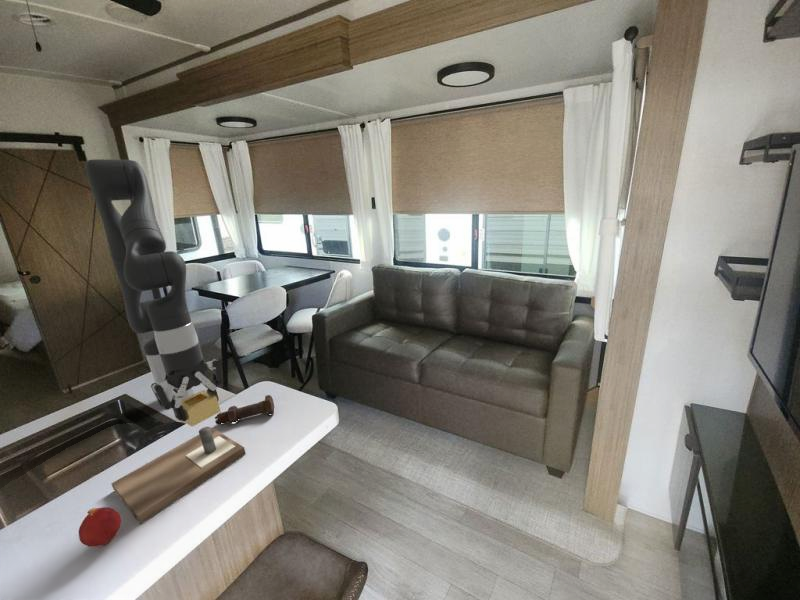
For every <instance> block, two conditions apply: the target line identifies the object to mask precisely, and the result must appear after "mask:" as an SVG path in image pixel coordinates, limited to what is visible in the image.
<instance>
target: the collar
mask: <svg viewBox="0 0 800 600" xmlns="http://www.w3.org/2000/svg"><path fill="white" fill-rule="evenodd" d="M181 406H183V411H184V414H185V417H186V421H184V422H183V423H186V424H187V425H189V427H195V426H196V425H199V424H200V423H202V422H204V421H206V420H208V419H209V418H211V417H213V416H215V415H218V414H219V413H221V412H222V411H221V408H220V404H219V400H217V397H216V396H215V395H213V394H210V393H208V392H207V390H205V389H203V390H200V391H198V392H196V393H193V395H191V396H189V397H187V398H185V399H183V400H182V402H181Z"/></svg>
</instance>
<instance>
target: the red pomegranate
mask: <svg viewBox="0 0 800 600" xmlns="http://www.w3.org/2000/svg"><path fill="white" fill-rule="evenodd" d="M121 527H122V516H121V514H120V512H119V511H118V510H117V509H114V508H112V507H108V506H103V507H97V508H95V507H93V508H90V509H89V510H88V511H87V515H86V516H85V517H84V518H83V520H82V522H81V523H80V526H79V528H78V539H79V542H81V544H82V545H84V546H86V547H100V546H105V545H106V546H107V545H108V544H109V543H110V542H112V541H113V539H114V538H115V537H116V536H117V534H118V533H119V531H120V529H121Z"/></svg>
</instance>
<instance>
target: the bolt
mask: <svg viewBox="0 0 800 600" xmlns="http://www.w3.org/2000/svg"><path fill="white" fill-rule="evenodd" d="M274 408H275V402H274V398H273V397H272V395H271V394H268V395H265V397H264V400H262V401H259V402H255V403H252V404H248V405H245V406H242V407H237V405H232V406H229V407H228V409H227V410H226V411H221V412H219V413H217V414H216V416H215V417H214V419H215V424H216V425H218V424H221V423H225V424H227V423H226V422H228V423H229V424H231V423H232V422H236V421H238V419H240V420H242V418H243V419H246V418H250V417H253V416H257V415H261V414H266V413H267V415H268V416H269V414H273V413H274ZM274 414H275V413H274ZM274 414H273V415H274Z"/></svg>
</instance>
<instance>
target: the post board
mask: <svg viewBox="0 0 800 600" xmlns="http://www.w3.org/2000/svg"><path fill="white" fill-rule="evenodd" d="M246 455H247V454H246V449H245V447H244V446H243V445H241V444H240V443H238V442H236V441H235V440H233V439H231V438H230V437H228V436H226V435H225V434H223V433H221V432H220V431H218V430H217V429H215V428H213V427H210V426H205V427H202V428H200V429H199V430H198V434H197V435H195V436H193V437H192V438H190V439H188V440H186V441H185V442H182V443H181V444H179V445H178V446H175V447H174V448H171V450H169V451H167V452H165V453H163V454H162V455H159V456H157V457H156V458H154V459H152V460H150V461H149V462H147V463H145V464H143V465H141V466H140V467H138V468H136V469H135V470H132V471H131V472H129V473H128V474H126V475H124V476H122V477H120V478H119V479H117V480H115V481H113V482H111V484H110V485H111V486H112V489H113V490H115V491H114V493H115V494H116V493H117V494H118V495H117V494H116V495H117V496H118V497H119V499H120V498H121V499H122V500H121V499H120V500H121V502H122V503H123V504H124V505H125V506H126V507H127V509H128V510H129V512H130V513H131V514H132V515H133V516H134V517H135V519H136V520H137V521H138V523H139V524H140V525H141V524H143V523H145V522H146V521H148V520H149V519H151V518H152V517H154V516H155V515H157V514H159V513H160V512H161V511H163V510H164V509H166V508H167V507H169V506H170V505H172V504H173V503H174V502H176V501H178V500H179V499H181V498H182V497H184V496H185V495H187V494H188V493H190V492H192V491H193V490H194V489H196V488H197V487H199V486H200V485H202V484H203V483H205V482H207V481H208V480H209V479H211V478H213V476H216V475H217V474H218V473H219V472H221V471H223V470H224V469H225V468H227V467H228V466H230V465H231V464H233V463H235V462H236V461H238V460H239V459H241V458H243V457H244V456H246Z"/></svg>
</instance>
